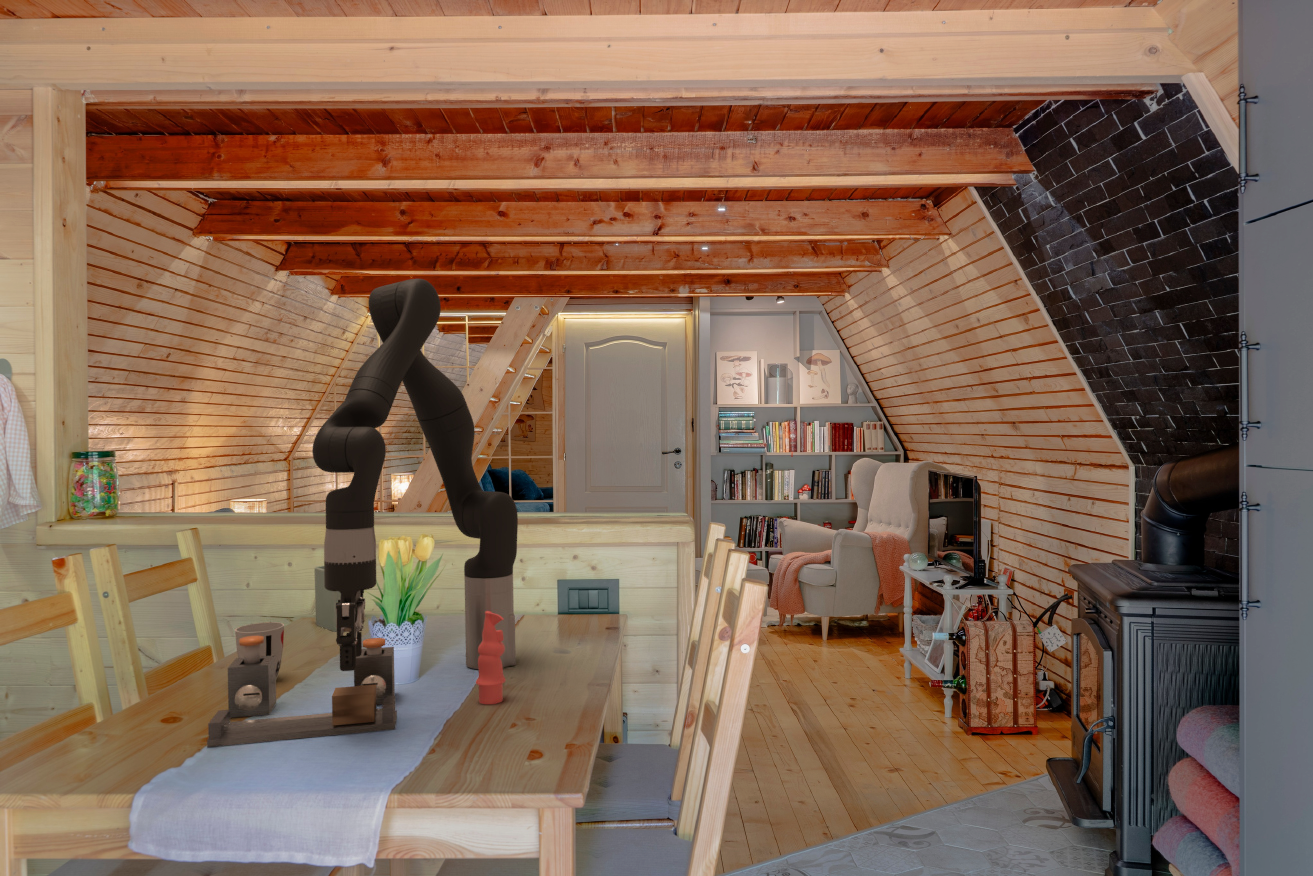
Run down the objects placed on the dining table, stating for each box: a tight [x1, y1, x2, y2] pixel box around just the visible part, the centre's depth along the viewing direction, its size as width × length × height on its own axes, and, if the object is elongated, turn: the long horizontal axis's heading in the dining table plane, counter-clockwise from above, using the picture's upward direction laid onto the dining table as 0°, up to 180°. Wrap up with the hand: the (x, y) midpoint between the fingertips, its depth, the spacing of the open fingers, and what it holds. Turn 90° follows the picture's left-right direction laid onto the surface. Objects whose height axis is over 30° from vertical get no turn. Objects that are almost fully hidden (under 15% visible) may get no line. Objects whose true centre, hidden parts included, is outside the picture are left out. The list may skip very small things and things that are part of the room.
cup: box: [234, 621, 285, 681], centre depth 158 cm, size 8×8×10 cm
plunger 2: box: [362, 637, 386, 655], centre depth 146 cm, size 4×4×4 cm
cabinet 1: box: [227, 655, 277, 719], centre depth 141 cm, size 6×6×8 cm
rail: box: [206, 694, 398, 748], centre depth 131 cm, size 26×6×3 cm, turn 104°
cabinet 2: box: [353, 646, 396, 706], centre depth 146 cm, size 6×6×8 cm
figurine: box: [475, 611, 506, 705], centre depth 145 cm, size 5×5×15 cm
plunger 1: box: [239, 636, 264, 664], centre depth 142 cm, size 4×4×4 cm
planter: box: [314, 565, 341, 633], centre depth 204 cm, size 16×8×20 cm, turn 1°
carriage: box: [331, 685, 378, 725], centre depth 133 cm, size 6×4×4 cm
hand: (351, 663), depth 133 cm, fingers open, 8 cm apart
